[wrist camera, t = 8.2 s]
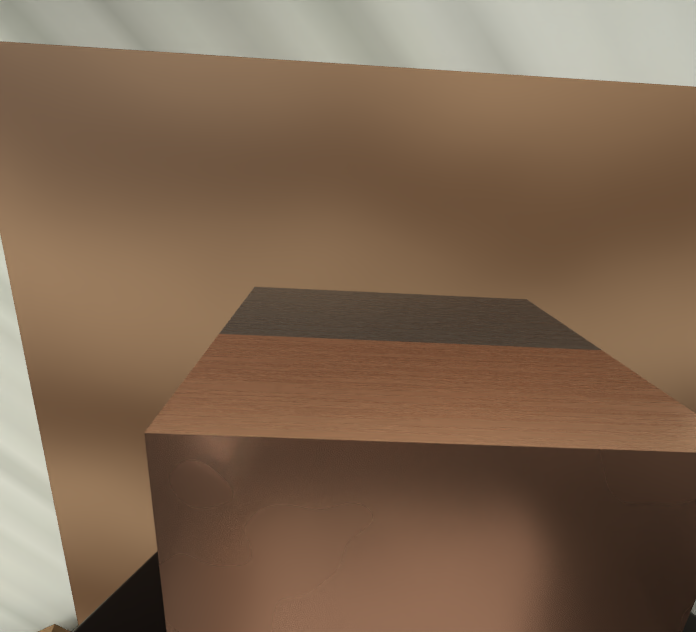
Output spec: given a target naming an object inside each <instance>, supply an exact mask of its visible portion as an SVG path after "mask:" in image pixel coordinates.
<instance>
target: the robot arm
mask: <svg viewBox="0 0 696 632" xmlns="http://www.w3.org/2000/svg"><path fill="white" fill-rule="evenodd" d="M73 632H167V631H166V622H165V613H164V604H163V595H162V587H161V578H160V569H159V560H158V551H157V552H156V553H155V554H154V555H153V556H151V557H150V558H149V559H148V560H147V561H146V562H145V563H144V564H143V565H142V566H141V567H140V568H139V569H138V570H137V571H136V572H135V573H134V574H133V575H131V576H130V577H129V578H128V579H127V580H126V581H125V582H124V583H123V584H122V585H121V586H120V587H119V588H118V589H117V590H116V591H115V592H114V593H113V594H111V595H110V596H109V597H108V598H107V599H106V600H105V601H104V602H103V603H102V604H101V605H100V606H99V607H98V608H97V609H96V610H95V611H94V612H93V613H91V614H90V615H89V616H88V617H87V618H86V619H85V620H84V621H83V622H82V623H81V624H80V625H79V626H78V627H77V628H76V629H75V630H74V631H73ZM682 632H696V615H694V614H693V613H692V612H690V614H689V617H688V619H687V621H686V624H685V626H684V629H683V631H682Z"/></svg>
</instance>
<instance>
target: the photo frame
mask: <svg viewBox="0 0 696 632" xmlns="http://www.w3.org/2000/svg"><path fill="white" fill-rule="evenodd" d="M38 632H71V631H68V630H66V629H64V628H62V627H60V626H58V625H56V624H54V625H51V626H49V627H47V628H45V629H43V630H40V631H38Z"/></svg>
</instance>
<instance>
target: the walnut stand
mask: <svg viewBox="0 0 696 632" xmlns="http://www.w3.org/2000/svg"><path fill="white" fill-rule="evenodd" d="M0 234H1V239H2V244H3V249H4V254H5V259H6V264H7V269H8V274H9V279H10V284H11V289H12V295H13V300H14V305H15V310H16V315H17V320H18V325H19V330H20V335H21V340H22V345H23V350H24V355H25V360H26V365H27V370H28V375H29V380H30V385H31V390H32V395H33V400H34V405H35V410H36V415H37V420H38V425H39V430H40V435H41V440H42V445H43V450H44V455H45V460H46V465H47V470H48V475H49V480H50V485H51V490H52V495H53V500H54V505H55V510H56V515H57V520H58V525H59V530H60V535H61V540H62V545H63V550H64V555H65V560H66V565H67V570H68V575H69V580H70V585H71V590H72V595H73V600H74V605H75V610H76V615H77V620H78V625H80V624H81V623H82V622H83V621H84V620H85V619H86V618H87V617H88V616H89V615H90V614H91V613H93V612H94V611H95V610H96V609H97V608H98V607H99V606H100V605H101V604H102V603H103V602H104V601H105V600H106V599H107V598H108V597H109V596H110V595H111V594H113V593H114V592H115V591H116V590H117V589H118V588H119V587H120V586H121V585H122V584H123V583H124V582H125V581H126V580H127V579H128V578H129V577H130V576H131V575H133V574H134V573H135V572H136V571H137V570H138V569H139V568H140V567H141V566H142V565H143V564H144V563H145V562H146V561H147V560H148V559H149V558H150V557H151V556H153V555H154V554H155V553H156V552H157V542H156V534H155V525H154V516H153V507H152V498H151V489H150V481H149V472H148V463H147V454H146V445H145V437H144V432H145V431H146V430H147V428H148V427H149V426H150V424H151V423H152V422H153V420H154V419H155V418H156V417H157V415H158V414H159V413H160V411H161V410H162V409H163V407H164V406H165V405H166V403H167V402H168V401H169V399H170V398H171V397H172V395H173V394H174V393H175V391H176V390H177V389H178V387H179V386H180V385H181V383H182V382H183V381H184V379H185V378H186V377H187V376H188V374H189V373H190V372H191V370H192V369H193V368H194V366H195V365H196V364H197V362H198V361H199V360H200V358H201V357H202V356H203V354H204V353H205V352H206V350H207V349H208V348H209V346H210V345H211V344H212V342H213V341H214V340H215V338H216V337H217V336H218V335H219V333H220V332H221V331H222V329H223V328H224V327H225V325H226V324H227V323H228V321H229V320H230V319H231V317H232V316H233V315H234V313H235V312H236V311H237V309H238V308H239V307H240V305H241V304H242V303H243V301H244V300H245V299H246V298H247V296H248V295H249V294H250V292H251V291H252V290H253V288H254V287H274V288H295V289H317V290H338V291H360V292H381V293H402V294H424V295H445V296H467V297H488V298H510V299H527V300H529V301H530V302H532V303H533V304H534V305H536V306H537V307H539V308H540V309H542V310H543V311H545V312H546V313H548V314H549V315H551V316H552V317H554V318H555V319H557V320H558V321H560V322H561V323H563V324H564V325H566V326H567V327H568V328H570V329H571V330H573V331H574V332H576V333H577V334H579V335H580V336H582V337H583V338H585V339H586V340H588V341H589V342H591V343H592V344H594V345H595V346H597V347H598V348H600V349H601V350H602V351H604V352H605V353H607V354H608V355H610V356H611V357H613V358H614V359H616V360H617V361H619V362H620V363H622V364H623V365H625V366H626V367H628V368H629V369H631V370H632V371H634V372H635V373H636V374H638V375H639V376H641V377H642V378H644V379H645V380H647V381H648V382H650V383H651V384H653V385H654V386H656V387H657V388H659V389H660V390H662V391H663V392H665V393H666V394H668V395H669V396H670V397H672V398H673V399H675V400H676V401H678V402H679V403H681V404H682V405H684V406H685V407H687V408H688V409H690V410H691V411H693V412H694V413H696V87H691V86H676V85H661V84H645V83H630V82H615V81H599V80H584V79H569V78H553V77H538V76H523V75H507V74H492V73H476V72H461V71H446V70H430V69H415V68H400V67H384V66H369V65H354V64H338V63H323V62H308V61H292V60H277V59H261V58H246V57H231V56H215V55H200V54H185V53H169V52H154V51H139V50H123V49H108V48H93V47H77V46H62V45H46V44H31V43H16V42H0Z"/></svg>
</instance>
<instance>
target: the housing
mask: <svg viewBox="0 0 696 632" xmlns="http://www.w3.org/2000/svg"><path fill="white" fill-rule="evenodd" d="M144 437H145V445H146V454H147V463H148V472H149V481H150V489H151V498H152V507H153V516H154V525H155V534H156V542H157V551H158V560H159V569H160V578H161V587H162V595H163V604H164V613H165V622H166V631H167V632H682V631H683V629H684V626H685V624H686V621H687V619H688V617H689V614H690V612H691V609H692V607H693V605H694V602H695V600H696V413H694V412H693V411H691V410H690V409H688V408H687V407H685V406H684V405H682V404H681V403H679V402H678V401H676V400H675V399H673V398H672V397H670V396H669V395H668V394H666V393H665V392H663V391H662V390H660V389H659V388H657V387H656V386H654V385H653V384H651V383H650V382H648V381H647V380H645V379H644V378H642V377H641V376H639V375H638V374H636V373H635V372H634V371H632V370H631V369H629V368H628V367H626V366H625V365H623V364H622V363H620V362H619V361H617V360H616V359H614V358H613V357H611V356H610V355H608V354H607V353H605V352H604V351H602V350H601V349H600V348H598V347H597V346H595V345H594V344H592V343H591V342H589V341H588V340H586V339H585V338H583V337H582V336H580V335H579V334H577V333H576V332H574V331H573V330H571V329H570V328H568V327H567V326H566V325H564V324H563V323H561V322H560V321H558V320H557V319H555V318H554V317H552V316H551V315H549V314H548V313H546V312H545V311H543V310H542V309H540V308H539V307H537V306H536V305H534V304H533V303H532V302H530V301H529V300H527V299H510V298H488V297H467V296H445V295H424V294H402V293H381V292H360V291H338V290H317V289H295V288H274V287H254V288H253V290H252V291H251V292H250V294H249V295H248V296H247V298H246V299H245V300H244V301H243V303H242V304H241V305H240V307H239V308H238V309H237V311H236V312H235V313H234V315H233V316H232V317H231V319H230V320H229V321H228V323H227V324H226V325H225V327H224V328H223V329H222V331H221V332H220V333H219V335H218V336H217V337H216V338H215V340H214V341H213V342H212V344H211V345H210V346H209V348H208V349H207V350H206V352H205V353H204V354H203V356H202V357H201V358H200V360H199V361H198V362H197V364H196V365H195V366H194V368H193V369H192V370H191V372H190V373H189V374H188V376H187V377H186V378H185V379H184V381H183V382H182V383H181V385H180V386H179V387H178V389H177V390H176V391H175V393H174V394H173V395H172V397H171V398H170V399H169V401H168V402H167V403H166V405H165V406H164V407H163V409H162V410H161V411H160V413H159V414H158V415H157V417H156V418H155V419H154V420H153V422H152V423H151V424H150V426H149V427H148V428H147V430H146V431H145V432H144Z"/></svg>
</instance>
